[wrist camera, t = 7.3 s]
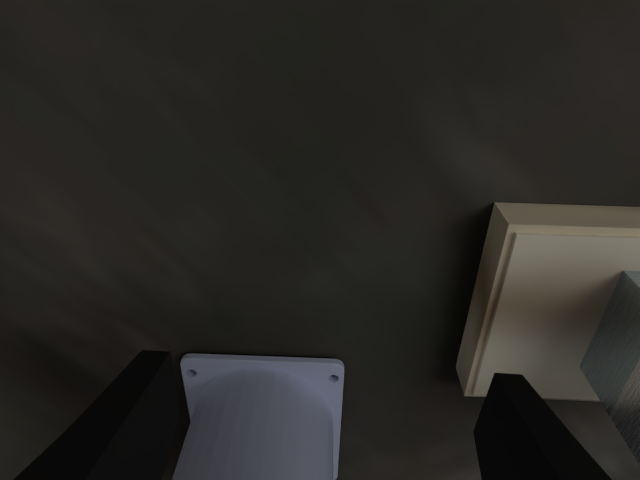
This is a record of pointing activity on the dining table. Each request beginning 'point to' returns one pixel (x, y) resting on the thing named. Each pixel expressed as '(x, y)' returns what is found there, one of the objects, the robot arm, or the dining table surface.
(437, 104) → the dining table surface
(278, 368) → the robot arm
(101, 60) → the dining table surface
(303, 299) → the dining table surface
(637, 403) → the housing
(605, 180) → the dining table surface
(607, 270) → the cream flat block
